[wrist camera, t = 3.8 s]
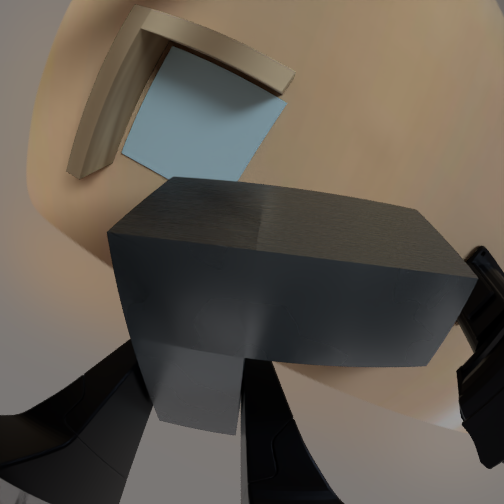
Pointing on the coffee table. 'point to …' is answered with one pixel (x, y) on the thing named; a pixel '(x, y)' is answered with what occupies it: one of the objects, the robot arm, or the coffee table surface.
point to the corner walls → (139, 70)
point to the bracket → (275, 288)
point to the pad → (200, 120)
